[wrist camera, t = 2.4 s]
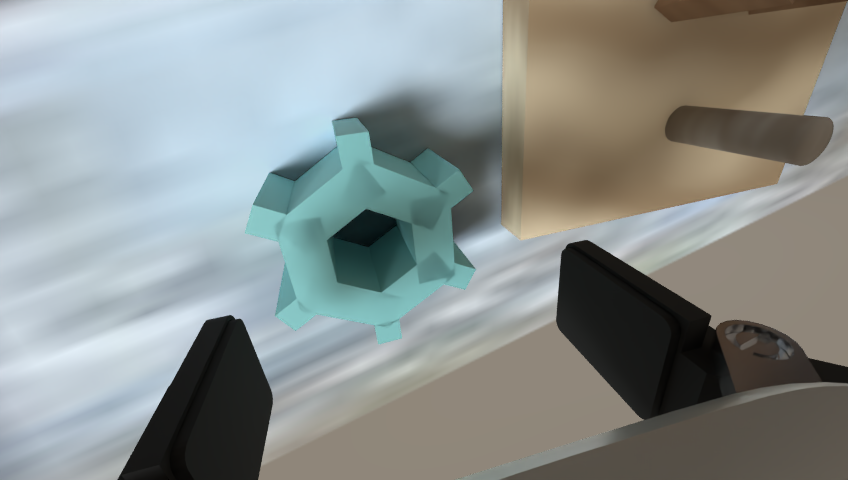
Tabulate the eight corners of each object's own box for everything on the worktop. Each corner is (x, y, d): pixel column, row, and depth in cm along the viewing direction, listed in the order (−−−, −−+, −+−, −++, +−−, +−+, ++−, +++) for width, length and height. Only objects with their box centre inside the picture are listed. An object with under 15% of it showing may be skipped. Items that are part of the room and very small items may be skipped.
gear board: (505, -283, 11) (760, -772, 4) (877, -246, 14) (1328, -505, 8) (501, 224, 18) (592, 300, 12) (739, 174, 21) (907, 214, 15)
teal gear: (242, 132, 13) (215, 153, 10) (435, 107, 15) (471, 117, 11) (298, 307, 17) (293, 366, 14) (447, 272, 19) (477, 318, 15)
